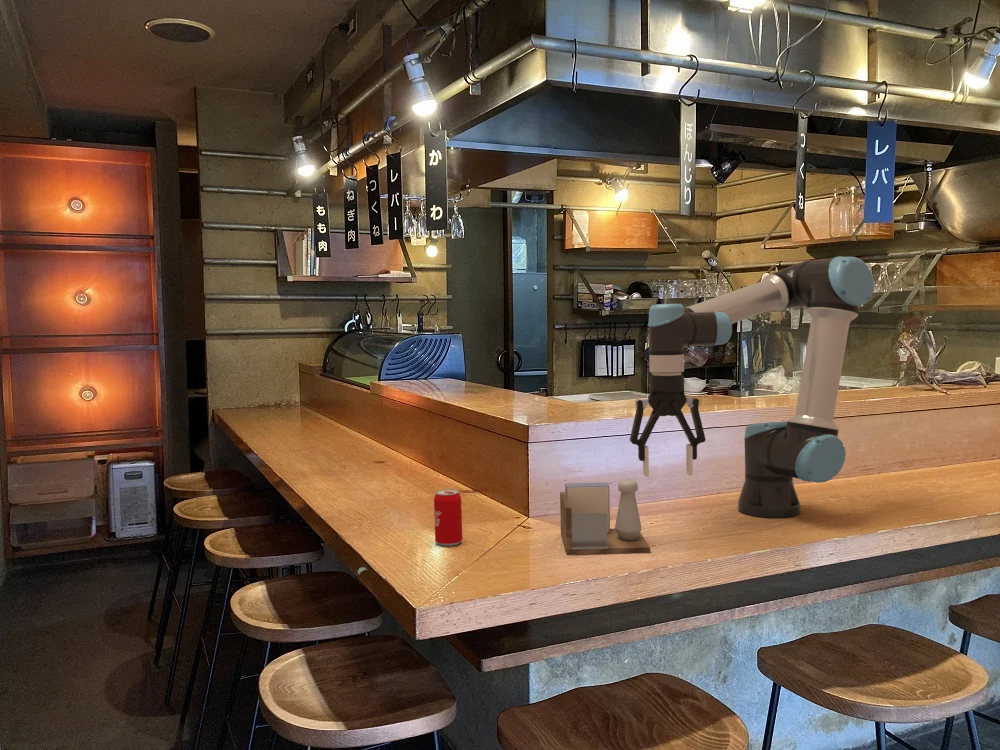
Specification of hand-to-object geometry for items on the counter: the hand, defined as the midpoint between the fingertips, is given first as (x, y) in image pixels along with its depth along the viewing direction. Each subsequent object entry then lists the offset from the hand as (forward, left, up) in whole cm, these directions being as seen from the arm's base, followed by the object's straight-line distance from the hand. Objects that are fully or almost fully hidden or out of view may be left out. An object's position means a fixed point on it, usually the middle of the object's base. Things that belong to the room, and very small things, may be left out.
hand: (667, 474), depth 177 cm
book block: (+17, -6, -14) cm, 23 cm away
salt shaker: (+9, 0, -14) cm, 17 cm away
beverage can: (+50, -3, -16) cm, 52 cm away
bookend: (+18, +6, -14) cm, 24 cm away
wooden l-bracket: (+15, 0, -15) cm, 21 cm away
